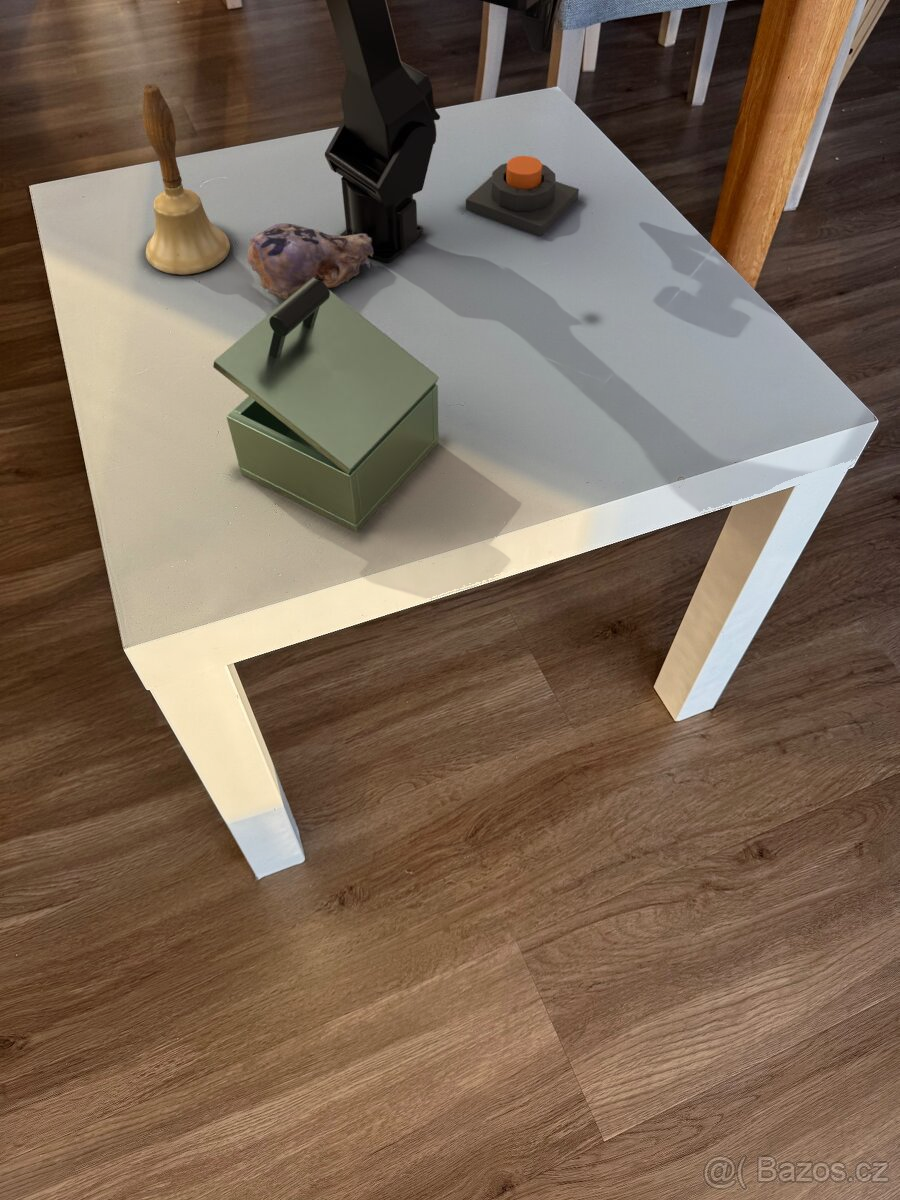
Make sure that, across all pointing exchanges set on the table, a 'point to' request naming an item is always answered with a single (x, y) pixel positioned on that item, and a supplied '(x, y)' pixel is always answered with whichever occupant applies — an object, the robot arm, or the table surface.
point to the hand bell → (177, 203)
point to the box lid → (327, 374)
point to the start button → (524, 172)
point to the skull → (305, 257)
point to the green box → (317, 480)
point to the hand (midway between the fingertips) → (538, 50)
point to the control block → (522, 201)
